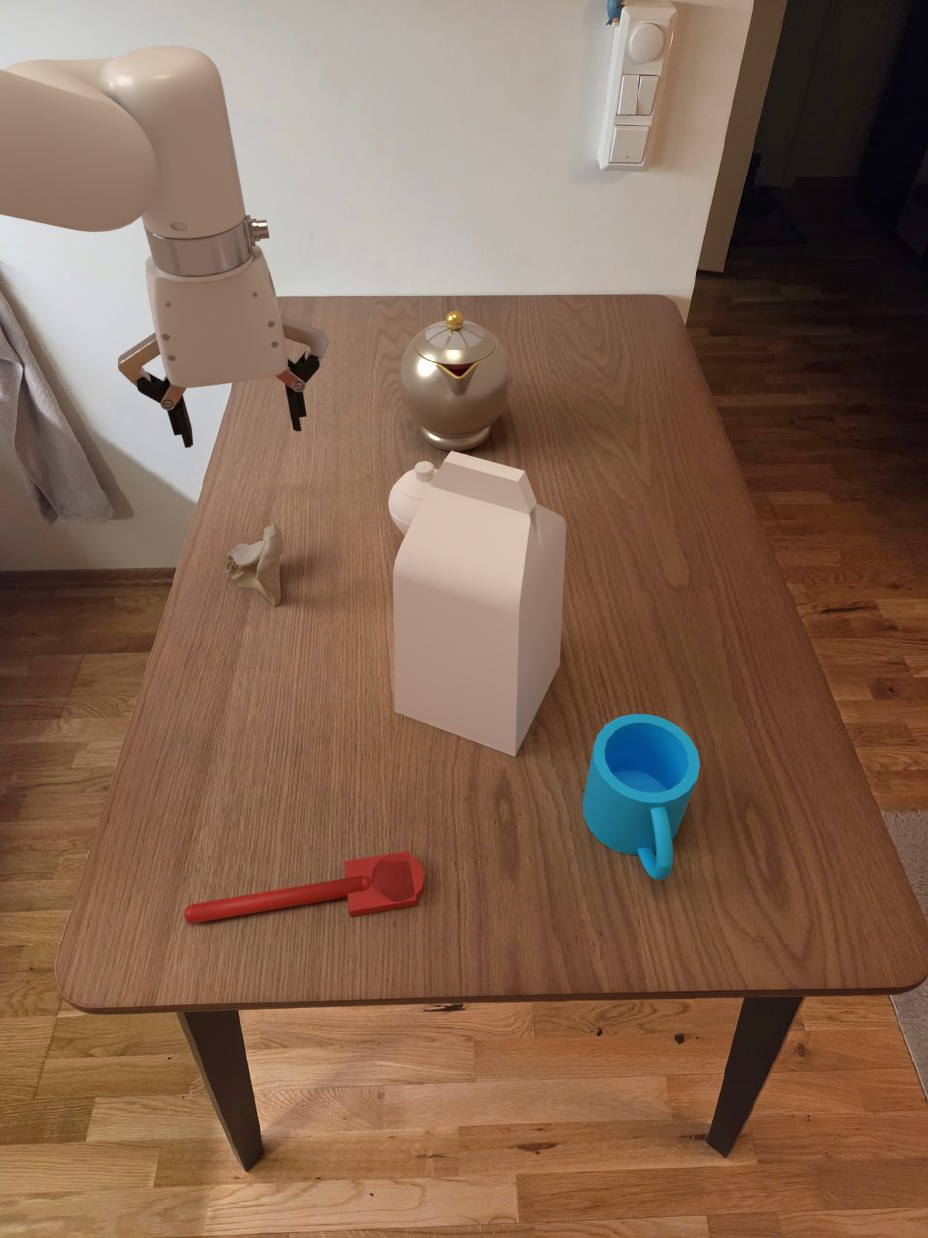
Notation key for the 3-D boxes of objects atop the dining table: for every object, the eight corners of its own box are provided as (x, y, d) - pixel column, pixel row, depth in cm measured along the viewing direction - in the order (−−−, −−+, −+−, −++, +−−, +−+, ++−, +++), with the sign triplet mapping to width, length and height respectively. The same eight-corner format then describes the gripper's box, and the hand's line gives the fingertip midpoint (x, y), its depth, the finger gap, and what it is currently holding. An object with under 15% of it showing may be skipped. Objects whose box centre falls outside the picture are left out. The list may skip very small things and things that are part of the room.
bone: (222, 542, 93) (256, 482, 86) (278, 562, 95) (315, 505, 89) (209, 603, 87) (244, 544, 81) (269, 623, 90) (307, 567, 83)
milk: (394, 711, 79) (372, 490, 60) (447, 627, 86) (442, 405, 67) (515, 757, 76) (533, 537, 57) (559, 665, 83) (588, 442, 64)
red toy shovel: (185, 945, 65) (180, 938, 64) (187, 893, 67) (183, 885, 66) (428, 903, 67) (427, 895, 66) (420, 854, 70) (420, 846, 69)
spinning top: (391, 533, 96) (384, 444, 87) (460, 529, 96) (460, 441, 88) (393, 581, 91) (385, 492, 82) (465, 577, 91) (465, 488, 82)
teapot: (515, 467, 104) (522, 343, 92) (403, 472, 103) (395, 348, 91) (500, 385, 116) (504, 266, 104) (399, 389, 115) (392, 270, 103)
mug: (573, 773, 75) (583, 718, 69) (665, 764, 75) (682, 709, 69) (604, 905, 67) (618, 856, 61) (706, 894, 67) (730, 844, 61)
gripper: (307, 210, 69) (331, 395, 82) (83, 234, 66) (144, 421, 79) (320, 251, 64) (344, 440, 77) (80, 278, 61) (145, 470, 74)
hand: (242, 430), depth 78 cm, fingers open, 9 cm apart
